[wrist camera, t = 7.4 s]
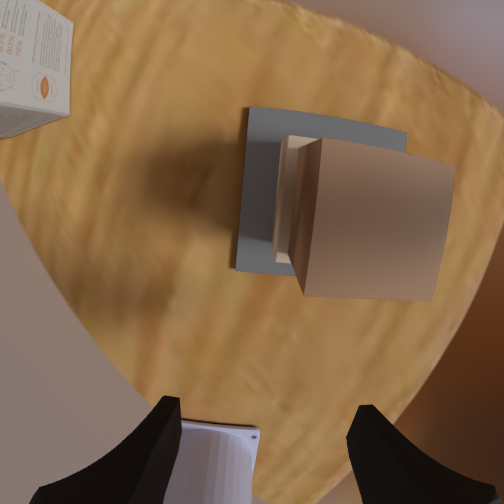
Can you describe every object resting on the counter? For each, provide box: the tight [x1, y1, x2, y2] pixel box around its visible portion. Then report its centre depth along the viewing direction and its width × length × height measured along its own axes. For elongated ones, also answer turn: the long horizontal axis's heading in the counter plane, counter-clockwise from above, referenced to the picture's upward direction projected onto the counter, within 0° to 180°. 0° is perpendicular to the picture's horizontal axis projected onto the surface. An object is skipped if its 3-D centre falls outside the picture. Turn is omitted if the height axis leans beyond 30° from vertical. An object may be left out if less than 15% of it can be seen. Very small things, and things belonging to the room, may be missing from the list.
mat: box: [236, 106, 407, 276], centre depth 18 cm, size 10×10×1 cm
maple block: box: [271, 135, 318, 263], centre depth 16 cm, size 6×6×4 cm
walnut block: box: [288, 138, 456, 301], centre depth 12 cm, size 5×5×5 cm
